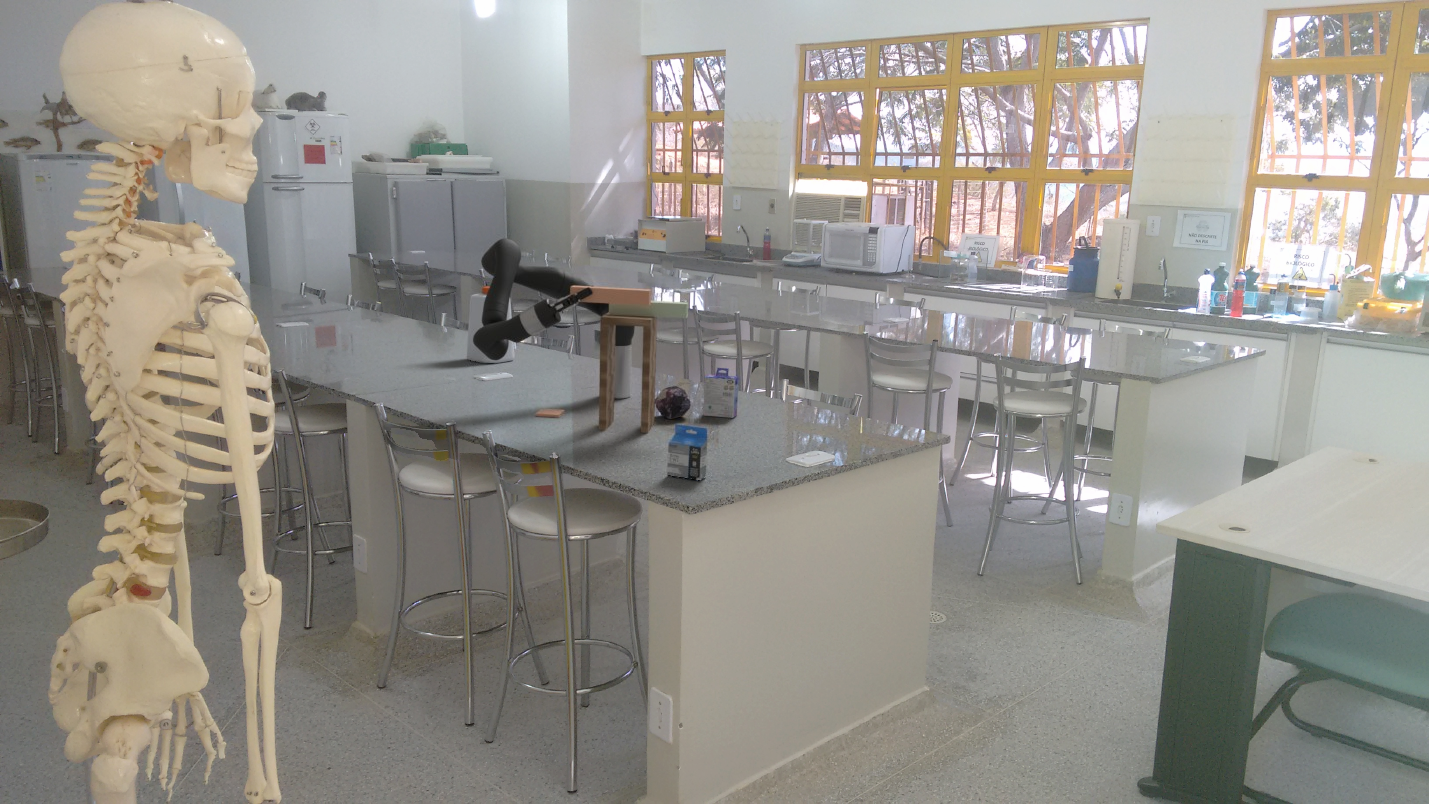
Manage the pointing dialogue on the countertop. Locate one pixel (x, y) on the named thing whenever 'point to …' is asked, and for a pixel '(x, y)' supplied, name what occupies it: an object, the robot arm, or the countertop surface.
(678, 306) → the sage rod
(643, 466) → the countertop surface
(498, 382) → the countertop surface
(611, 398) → the wooden stand
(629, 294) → the terracotta rod
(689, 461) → the label tape box
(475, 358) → the plastic bottle
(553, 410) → the tile
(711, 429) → the countertop surface
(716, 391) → the ink cartridge box
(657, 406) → the mineral specimen
